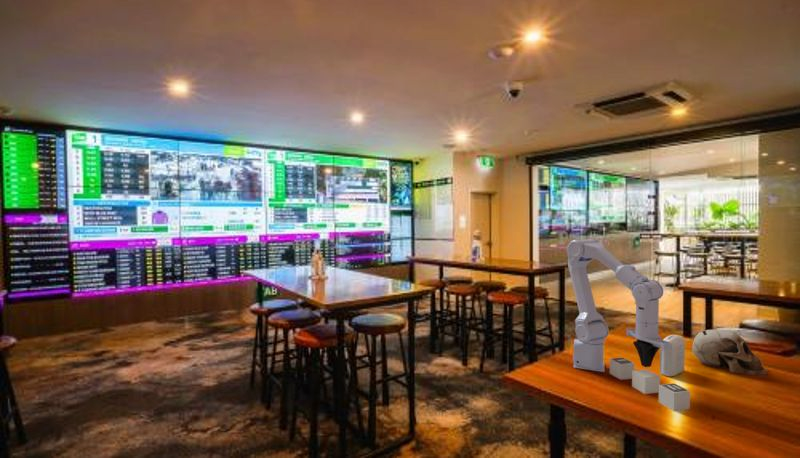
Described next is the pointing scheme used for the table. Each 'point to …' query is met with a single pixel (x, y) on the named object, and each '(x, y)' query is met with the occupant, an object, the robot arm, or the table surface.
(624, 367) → the marked block 1
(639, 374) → the plain block
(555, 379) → the table surface
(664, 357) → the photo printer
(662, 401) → the marked block 2
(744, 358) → the grey skull
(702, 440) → the table surface
